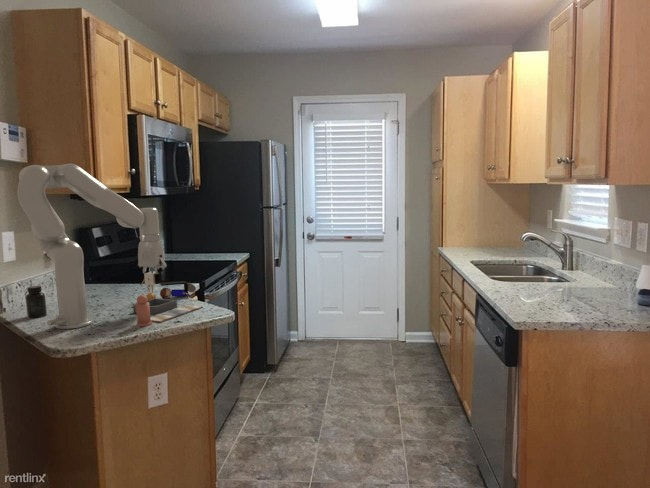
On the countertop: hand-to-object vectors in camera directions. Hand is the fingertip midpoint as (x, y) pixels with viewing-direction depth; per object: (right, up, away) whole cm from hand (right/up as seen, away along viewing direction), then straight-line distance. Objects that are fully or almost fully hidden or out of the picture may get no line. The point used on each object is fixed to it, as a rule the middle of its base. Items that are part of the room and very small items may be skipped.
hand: (153, 282), depth 212 cm
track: (+11, -12, -7) cm, 17 cm away
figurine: (-6, -10, +17) cm, 21 cm away
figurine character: (+3, -9, +25) cm, 26 cm away
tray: (0, -11, +1) cm, 11 cm away
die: (0, -1, 0) cm, 1 cm away
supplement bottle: (-46, -14, -2) cm, 48 cm away
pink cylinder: (+4, -14, -21) cm, 26 cm away
